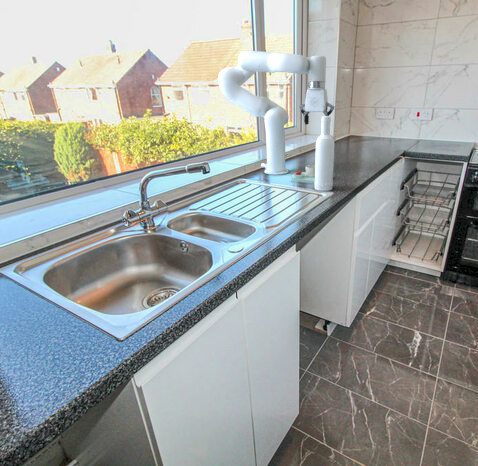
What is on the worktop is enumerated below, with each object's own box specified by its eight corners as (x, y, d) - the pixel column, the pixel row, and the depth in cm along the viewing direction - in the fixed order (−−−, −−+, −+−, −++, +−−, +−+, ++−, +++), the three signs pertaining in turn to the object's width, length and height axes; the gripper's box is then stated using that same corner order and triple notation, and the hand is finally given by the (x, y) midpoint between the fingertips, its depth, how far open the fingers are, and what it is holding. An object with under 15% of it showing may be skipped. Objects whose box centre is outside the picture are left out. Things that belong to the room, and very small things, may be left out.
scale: (290, 181, 156) (290, 175, 155) (301, 174, 168) (301, 169, 167) (324, 185, 150) (324, 178, 149) (333, 177, 161) (333, 171, 160)
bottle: (335, 190, 141) (339, 116, 129) (317, 191, 140) (320, 117, 128) (328, 185, 149) (331, 115, 136) (312, 186, 147) (313, 115, 135)
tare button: (294, 175, 156) (294, 172, 155) (296, 174, 158) (296, 171, 157) (299, 175, 155) (299, 172, 154) (301, 174, 157) (302, 171, 156)
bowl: (303, 176, 157) (303, 167, 156) (308, 173, 163) (308, 164, 161) (316, 178, 155) (316, 168, 153) (320, 174, 161) (321, 165, 159)
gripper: (296, 86, 152) (296, 124, 159) (332, 85, 146) (331, 126, 153) (302, 86, 159) (302, 123, 165) (337, 85, 152) (335, 124, 159)
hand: (316, 124), depth 159 cm, fingers open, 9 cm apart
